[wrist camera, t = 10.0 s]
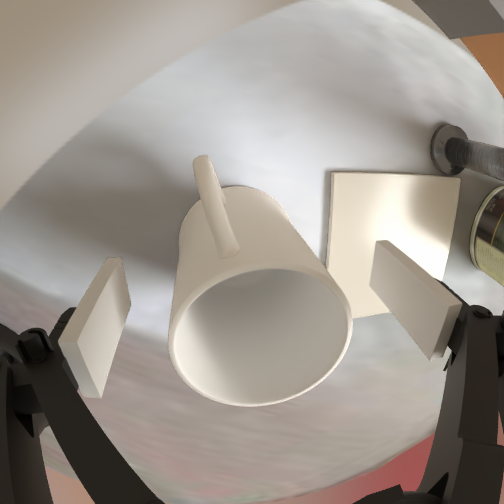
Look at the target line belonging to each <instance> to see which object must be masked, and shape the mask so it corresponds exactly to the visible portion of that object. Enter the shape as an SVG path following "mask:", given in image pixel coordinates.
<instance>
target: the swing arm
mask: <svg viewBox="0 0 504 504" xmlns="http://www.w3.org/2000/svg"><path fill="white" fill-rule="evenodd" d="M412 1H413V2H414V3H415V4H417V5H418V6H419V7H420V8H421V9H422V10H423V11H424V12H425V13H426V14H427V15H428V16H429V17H430V18H431V19H432V20H433V22H434V23H435V24H436V25H437V26H438V27H439V28H440V29H441V30H442V31H443V32H444V33H445V34H446V36H447V37H448V38H449V39H455V38H460V39H461V40H462V42H463V43H464V44H465V45H466V46H467V48H468V49H469V50H470V51H471V53H472V54H473V55H474V56H475V58H476V59H477V60H478V62H479V63H480V64H481V66H482V67H483V69H484V70H485V71H486V73H487V74H488V76H489V77H490V78H491V80H492V81H493V83H494V84H495V86H496V87H497V89H498V90H499V92H500V93H501V95H502V96H503V98H504V0H412Z"/></svg>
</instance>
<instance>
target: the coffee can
mask: <svg viewBox="0 0 504 504" xmlns="http://www.w3.org/2000/svg"><path fill="white" fill-rule="evenodd" d="M470 254H471V258H472V261H473V263H474V265H475V266H476V267H477V268H478V269H479V270H481V271H483V272H485V273H486V274H487V275H489V276H490V277H491V278H493V279H494V280H495V281H497V282H498V283H499V284H501V285H502V286H503V287H504V186H500V187H498V188H496V189H494V190H493V191H492V192H491V193H490V194H489V195H488V196H487V197H486V198H485V200H484V201H483V203H482V204H481V206H480V208H479V210H478V212H477V214H476V217H475V220H474V223H473V226H472V230H471V236H470Z"/></svg>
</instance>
